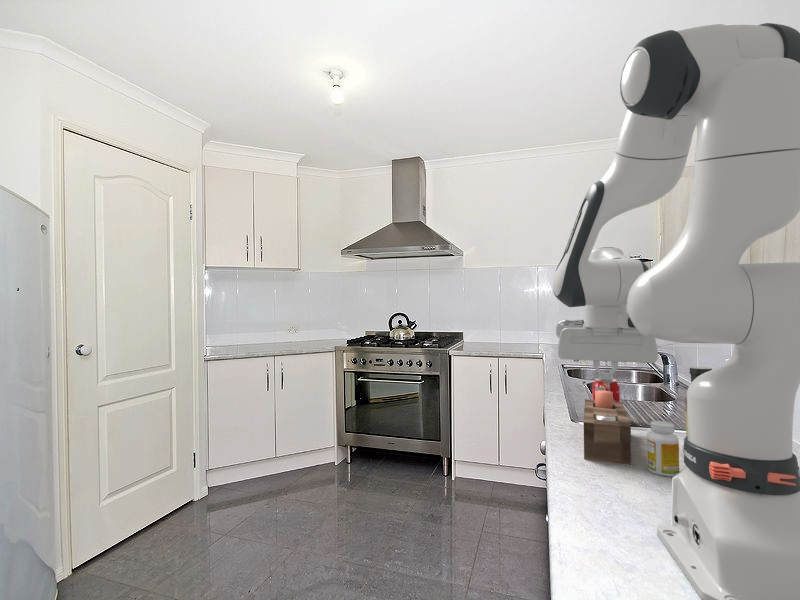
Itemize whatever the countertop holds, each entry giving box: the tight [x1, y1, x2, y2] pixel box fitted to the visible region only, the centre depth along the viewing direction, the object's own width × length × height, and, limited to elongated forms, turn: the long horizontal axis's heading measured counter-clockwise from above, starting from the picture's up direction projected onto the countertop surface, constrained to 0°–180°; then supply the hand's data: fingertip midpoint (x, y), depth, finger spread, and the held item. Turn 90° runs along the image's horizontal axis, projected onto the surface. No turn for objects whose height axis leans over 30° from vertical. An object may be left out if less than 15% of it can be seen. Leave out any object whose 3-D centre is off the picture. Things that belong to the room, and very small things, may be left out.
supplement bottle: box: [646, 420, 680, 478], centre depth 82 cm, size 5×5×10 cm
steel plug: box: [596, 414, 616, 421], centre depth 93 cm, size 4×4×7 cm
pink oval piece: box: [595, 390, 613, 409], centre depth 104 cm, size 4×4×7 cm
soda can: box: [592, 377, 621, 402], centre depth 119 cm, size 7×7×12 cm
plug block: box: [583, 398, 632, 466], centre depth 98 cm, size 24×9×8 cm, turn 155°
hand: (605, 381), depth 93 cm, fingers closed
